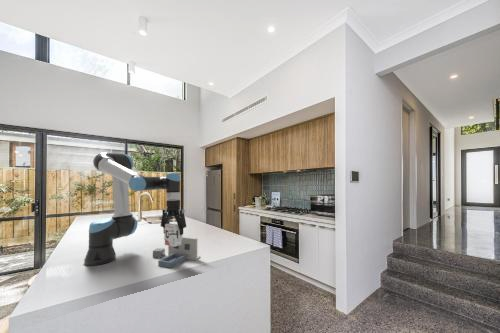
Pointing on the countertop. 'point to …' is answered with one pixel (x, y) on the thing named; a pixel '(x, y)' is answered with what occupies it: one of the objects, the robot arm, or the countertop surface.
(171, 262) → the dock
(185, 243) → the plate
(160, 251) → the brick
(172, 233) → the ink box
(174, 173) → the robot arm
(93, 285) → the countertop surface
